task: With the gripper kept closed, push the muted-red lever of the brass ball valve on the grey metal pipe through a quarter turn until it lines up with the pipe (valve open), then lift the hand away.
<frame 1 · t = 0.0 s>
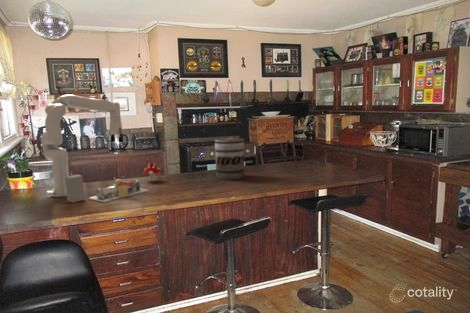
hand: (117, 141, 271), 31 cm above the countertop, tool pointing down, fingers open, 9 cm apart
barrel: (230, 177, 284), on the countertop
lever: (124, 182, 230), point 9 cm above the countertop, hinge at -90.0°
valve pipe: (119, 194, 235), on the countertop
decorative mushroom: (152, 181, 275), on the countertop
skincare box: (76, 201, 223), on the countertop
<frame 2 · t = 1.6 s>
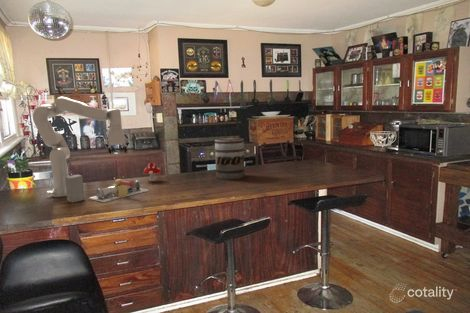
hand: (117, 153, 242), 26 cm above the countertop, tool pointing down, fingers open, 9 cm apart
nothing on the countertop moved.
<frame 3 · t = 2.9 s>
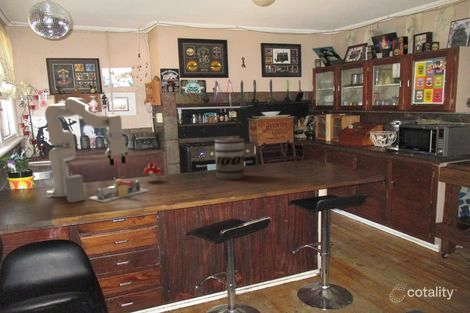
hand: (117, 163, 222), 22 cm above the countertop, tool pointing down, fingers open, 7 cm apart
nothing on the countertop moved.
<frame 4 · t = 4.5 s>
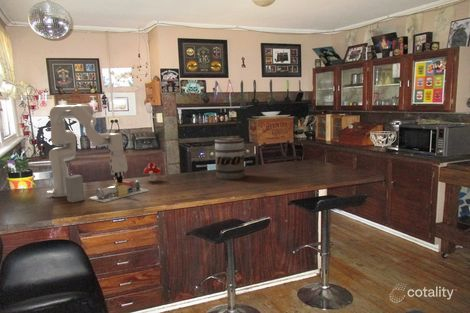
hand: (119, 182, 223), 10 cm above the countertop, tool pointing down, fingers closed
nothing on the countertop moved.
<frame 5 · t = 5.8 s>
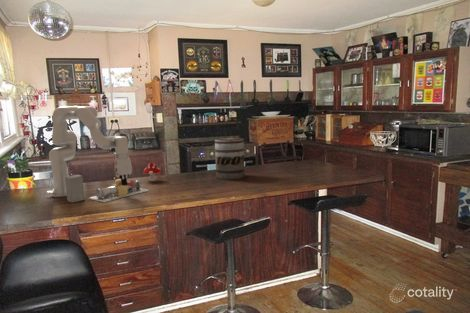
hand: (124, 185, 226), 8 cm above the countertop, tool pointing down, fingers closed
lever: (125, 182, 230), point 9 cm above the countertop, hinge at -88.8°, touching gripper
everything else where it was.
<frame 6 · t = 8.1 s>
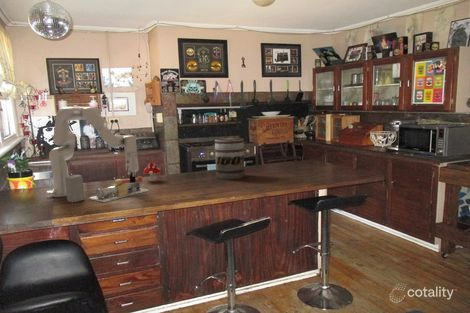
hand: (132, 182, 234), 8 cm above the countertop, tool pointing down, fingers closed
lever: (129, 180, 236), point 9 cm above the countertop, hinge at -30.3°, touching gripper
everything else where it was.
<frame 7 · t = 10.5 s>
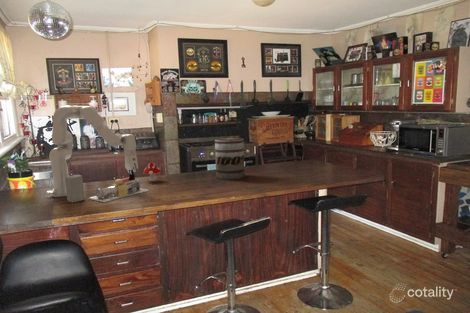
hand: (132, 179, 241), 8 cm above the countertop, tool pointing down, fingers closed
lever: (125, 179, 239), point 9 cm above the countertop, hinge at 12.9°
everything else where it was.
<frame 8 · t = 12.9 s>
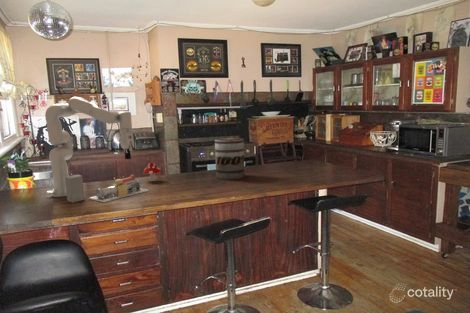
hand: (128, 158, 235), 23 cm above the countertop, tool pointing down, fingers closed
nothing on the countertop moved.
at the end: lever at +13° (first picture: -90°) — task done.
